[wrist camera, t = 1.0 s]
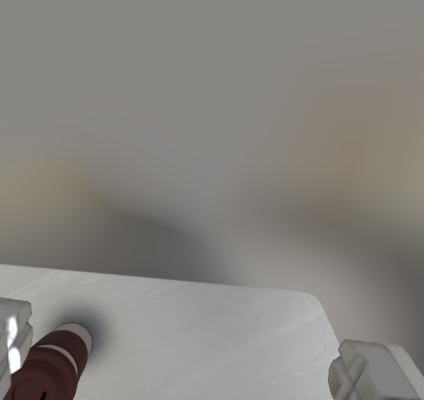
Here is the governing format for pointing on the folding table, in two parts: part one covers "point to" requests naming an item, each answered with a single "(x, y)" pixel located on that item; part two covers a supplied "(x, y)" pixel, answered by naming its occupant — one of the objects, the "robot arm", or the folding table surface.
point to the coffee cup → (52, 366)
